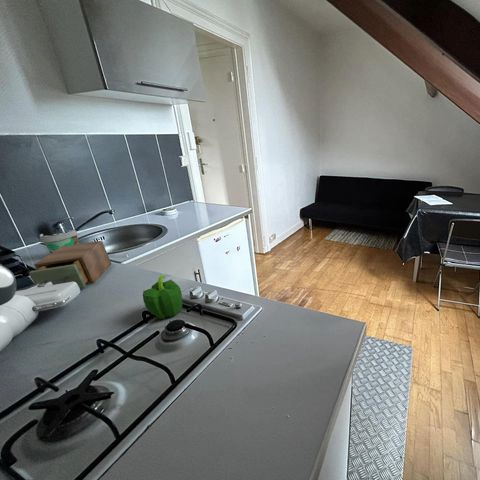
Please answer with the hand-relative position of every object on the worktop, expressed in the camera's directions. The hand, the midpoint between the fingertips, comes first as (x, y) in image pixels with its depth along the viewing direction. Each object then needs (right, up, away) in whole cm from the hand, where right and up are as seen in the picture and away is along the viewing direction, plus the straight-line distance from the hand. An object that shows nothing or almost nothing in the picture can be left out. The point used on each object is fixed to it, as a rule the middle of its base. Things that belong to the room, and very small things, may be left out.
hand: (46, 284), depth 73 cm
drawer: (-2, -1, +10) cm, 10 cm away
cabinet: (-4, 0, +16) cm, 17 cm away
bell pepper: (+38, -7, -5) cm, 39 cm away
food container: (-28, +6, +34) cm, 44 cm away
